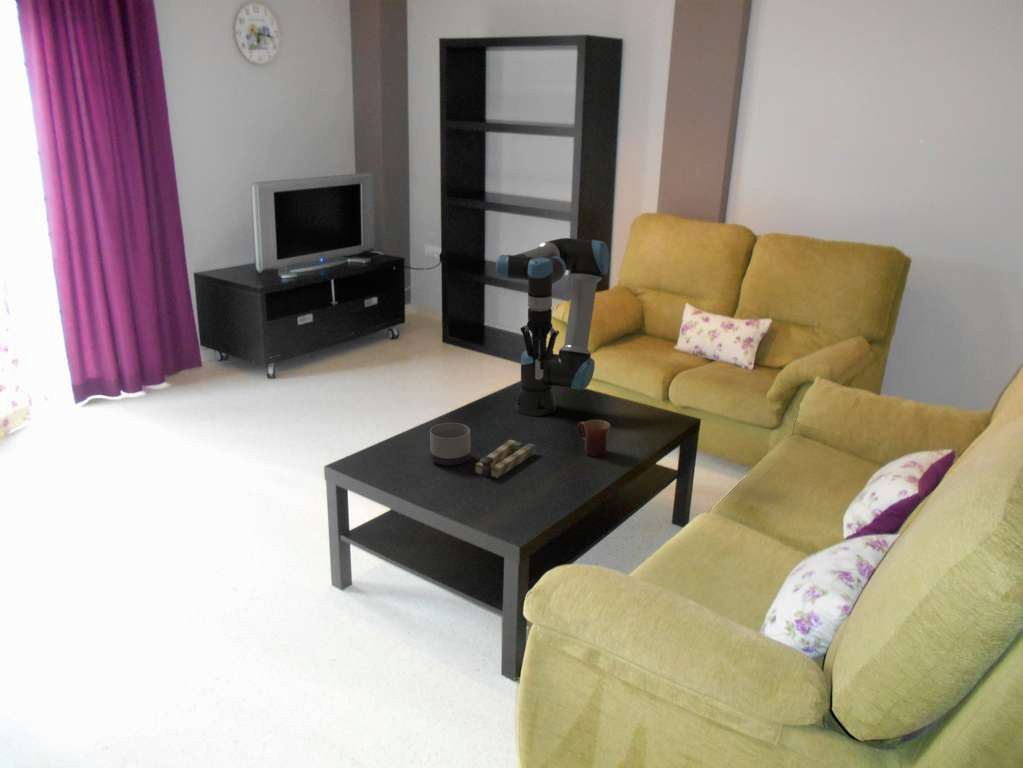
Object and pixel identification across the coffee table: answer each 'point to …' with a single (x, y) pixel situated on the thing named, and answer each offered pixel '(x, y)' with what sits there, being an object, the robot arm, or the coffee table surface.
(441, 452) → the planter
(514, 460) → the tongs jaw
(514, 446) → the tongs fixed
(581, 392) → the coffee table surface
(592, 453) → the mug
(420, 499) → the coffee table surface
